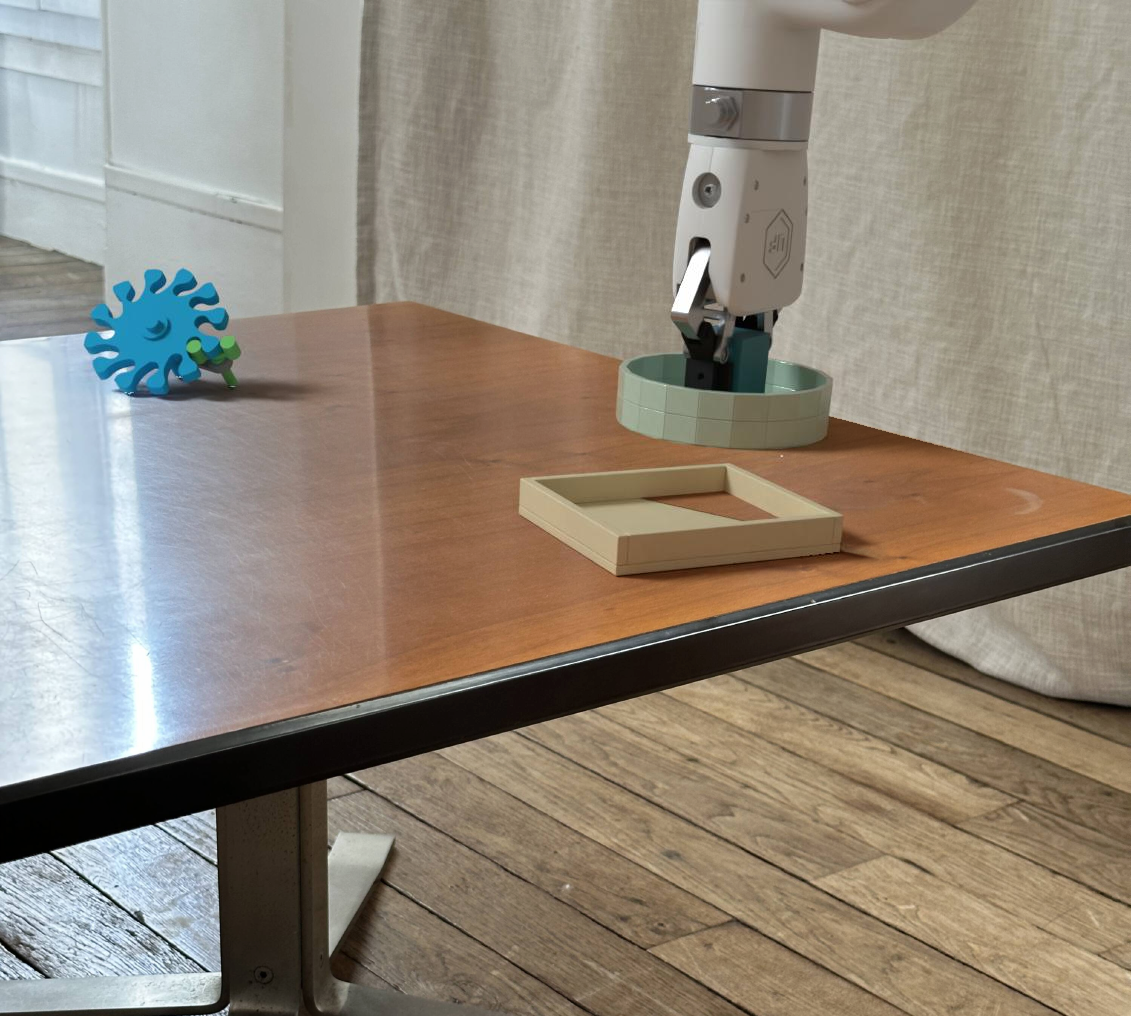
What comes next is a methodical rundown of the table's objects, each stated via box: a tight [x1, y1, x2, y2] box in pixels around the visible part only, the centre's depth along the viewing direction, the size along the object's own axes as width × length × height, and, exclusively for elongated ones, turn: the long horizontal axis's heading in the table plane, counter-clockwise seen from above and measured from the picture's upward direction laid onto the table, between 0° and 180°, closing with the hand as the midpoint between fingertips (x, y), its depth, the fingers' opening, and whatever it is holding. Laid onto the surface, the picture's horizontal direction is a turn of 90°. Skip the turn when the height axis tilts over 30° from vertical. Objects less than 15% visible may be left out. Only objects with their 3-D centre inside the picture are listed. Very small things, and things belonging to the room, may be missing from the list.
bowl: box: [615, 351, 834, 450], centre depth 106 cm, size 14×14×4 cm
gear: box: [83, 267, 242, 396], centre depth 111 cm, size 11×6×10 cm
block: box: [712, 324, 771, 393], centre depth 106 cm, size 4×4×6 cm
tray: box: [518, 462, 845, 577], centre depth 84 cm, size 13×11×2 cm
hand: (722, 412), depth 107 cm, fingers closed on block, 4 cm apart
